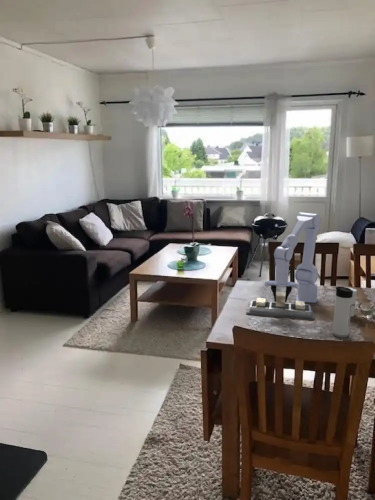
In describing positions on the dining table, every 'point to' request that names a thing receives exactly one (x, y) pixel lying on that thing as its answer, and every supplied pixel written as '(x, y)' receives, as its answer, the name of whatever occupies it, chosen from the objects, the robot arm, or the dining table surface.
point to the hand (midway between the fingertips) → (280, 301)
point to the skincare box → (353, 301)
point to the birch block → (280, 299)
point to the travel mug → (342, 312)
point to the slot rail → (280, 309)
